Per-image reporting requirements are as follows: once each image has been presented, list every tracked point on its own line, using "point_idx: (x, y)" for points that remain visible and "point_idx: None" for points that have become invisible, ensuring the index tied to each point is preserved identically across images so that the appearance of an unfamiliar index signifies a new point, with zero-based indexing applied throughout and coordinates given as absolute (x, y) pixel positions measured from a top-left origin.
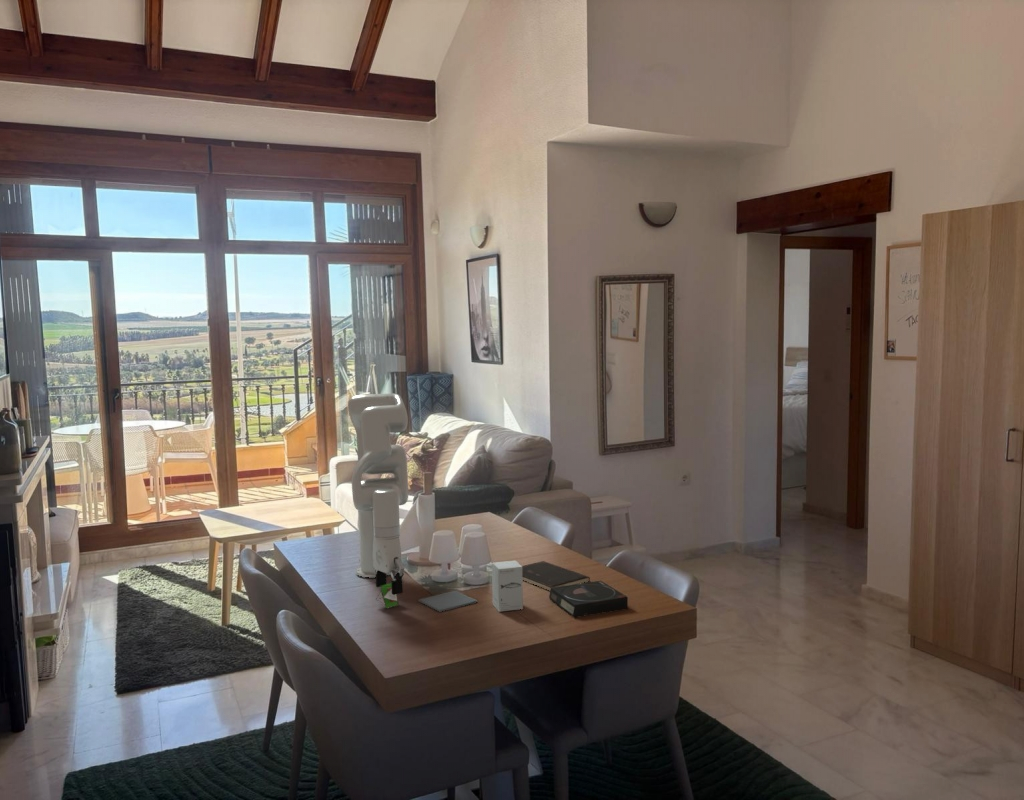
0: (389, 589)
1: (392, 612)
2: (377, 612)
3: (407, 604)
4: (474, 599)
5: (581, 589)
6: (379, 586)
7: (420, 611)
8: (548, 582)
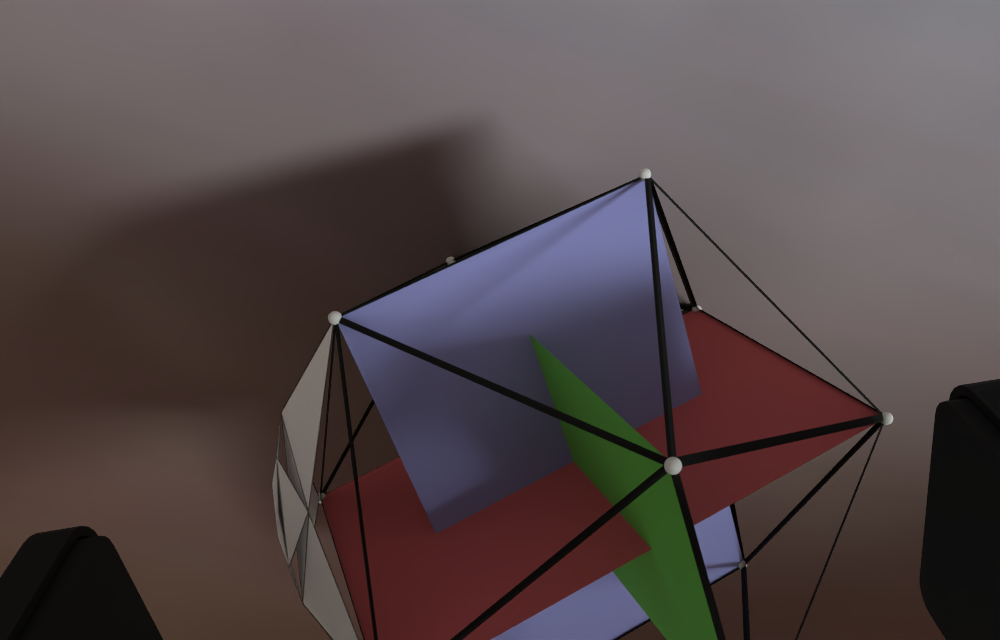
0: (561, 566)
1: (222, 297)
2: (336, 62)
3: None
4: None
5: None
6: (941, 444)
7: None
8: None
